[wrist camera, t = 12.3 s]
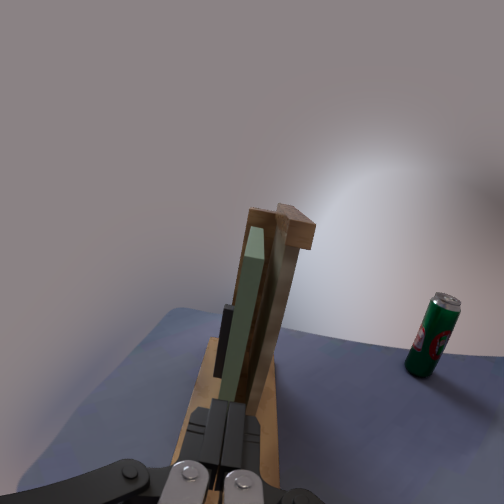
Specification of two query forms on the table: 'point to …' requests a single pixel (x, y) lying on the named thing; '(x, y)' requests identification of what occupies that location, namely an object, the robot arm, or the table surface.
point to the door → (239, 318)
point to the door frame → (259, 334)
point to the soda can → (433, 335)
